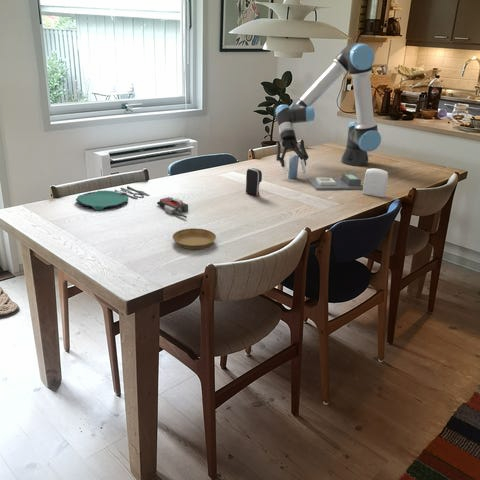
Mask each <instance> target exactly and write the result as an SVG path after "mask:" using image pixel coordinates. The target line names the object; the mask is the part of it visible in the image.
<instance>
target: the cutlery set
mask: <svg viewBox="0 0 480 480" xmlns="http://www.w3.org/2000/svg"><path fill="white" fill-rule="evenodd" d="M120 190H122V191H120ZM120 190H117V189H114V190H97V191H92V192H91V191H90V192H87V193H83V194H78V196H77V197H76V199H75V202H77V203H79V204H80V205H81V206H85V207H87V208H93V209H94V210H96V211H97V212H98V211H100V212H101V211H102V210H103V209H106V208H107V209H108V208H114V207H119V206H121V205H124V204H125V203H126V204H127V203H128V202H129V198H132V199H135V200H138V198H140V197H141V198H144V196H146V197H149V196H150V194H148V193H146V192H145V191H142V190H137V189H135V188H132V187H131V186H129V185H128V186H126V188H124V187H120ZM130 190H131V191H130ZM124 191H125V192H124ZM132 191H134V192H135V193H134V192H132ZM127 192H128V193H130V194H127ZM131 194H132V195H131Z"/></svg>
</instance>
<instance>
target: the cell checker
mask: <svg viewBox="0 0 480 480" xmlns="http://www.w3.org/2000/svg"><path fill="white" fill-rule="evenodd" d="M306 182H308V183H309V184H310V185H311V187H312V188H313V189H315V191H350V190H351V191H353V190H354V191H358V190H361V191H363V187H364V185H362V178H360V177H358V176H357V175H356V174H354V173H342V174H341V177H306Z"/></svg>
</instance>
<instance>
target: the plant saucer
mask: <svg viewBox="0 0 480 480" xmlns="http://www.w3.org/2000/svg"><path fill="white" fill-rule="evenodd" d="M216 238H217V235H216V233H214V232H213V231H210V230H207V229H206V228H205V229H204V228H196V227H195V228H193V227H192V228H191V227H190V228H185V229H181V230H178V231H176V232H174V233H173V234H172V240H173V241H174V243H175V244H177V245H178V246H179V247H181V248H183V249H187V250H188V249H189V250H202V249H203V250H204V249H206V248H208V247H209V246H210V245H212V244H213V243H214V242H215V241H216Z"/></svg>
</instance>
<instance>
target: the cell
mask: <svg viewBox="0 0 480 480" xmlns="http://www.w3.org/2000/svg"><path fill="white" fill-rule="evenodd" d="M299 159H300V158H299V156H298V155H297V154H291V155H289V162H288V172H287V173H288V177H287V178H288V179H290V180H296V179H297V178H298V169H299Z"/></svg>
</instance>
